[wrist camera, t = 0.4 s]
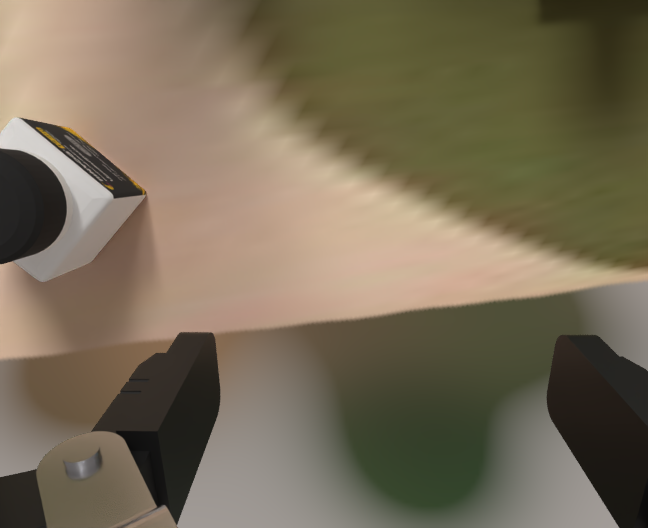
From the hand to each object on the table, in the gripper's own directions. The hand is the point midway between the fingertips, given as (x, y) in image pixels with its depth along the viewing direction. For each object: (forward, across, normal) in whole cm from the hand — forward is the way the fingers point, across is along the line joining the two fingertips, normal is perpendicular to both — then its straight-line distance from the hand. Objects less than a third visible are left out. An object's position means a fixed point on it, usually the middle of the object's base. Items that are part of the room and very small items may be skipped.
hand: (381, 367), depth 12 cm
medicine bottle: (+25, +20, +1) cm, 32 cm away
